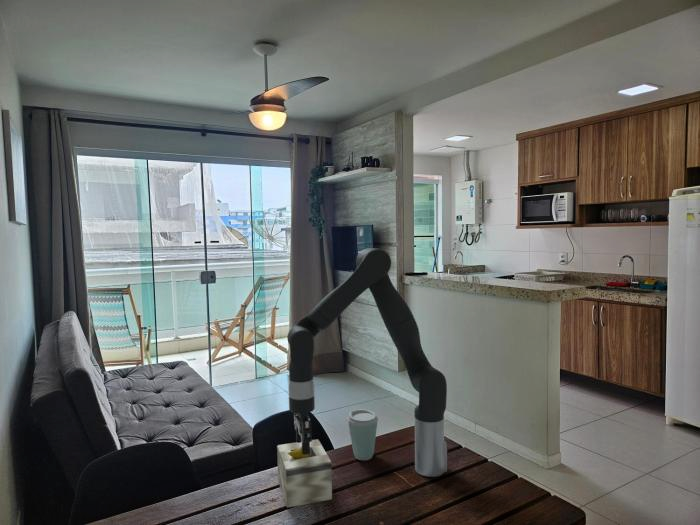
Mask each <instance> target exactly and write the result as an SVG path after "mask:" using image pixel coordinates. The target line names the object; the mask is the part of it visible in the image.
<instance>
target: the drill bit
mask: <svg viewBox="0 0 700 525" xmlns="http://www.w3.org/2000/svg"><path fill="white" fill-rule="evenodd" d="M313 452H314V451H311V448H310V453H309V454H306V455H303V454H302V447H301V448H300V449H297V450H294V451H292V452H289V453H287V454H289V455H290V456H292V457H293V458H294V459H302V458H308V457H313V456H312V454H313Z"/></svg>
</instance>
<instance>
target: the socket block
mask: <svg viewBox="0 0 700 525" xmlns="http://www.w3.org/2000/svg"><path fill="white" fill-rule="evenodd" d="M301 447H302V442H301V443H297V441H296V442H290V443H284V444H278V445H277V446H276V450H277V453H276V454H277V480H278V484H279V487H280V490H281V494H282V497H283V500H284V503H285V505H286V506H285V507H286V508H292V507H298V506H302V505H303V506H304V505H309V504H314V503H320V502H324V501H330V500H332V499H333V483H332V482H333V481H332V469H333V464H332V460H331V458H330V457H329V455H328V454H327V452H326V451H325V449H324V447H323V445H322V443H321V441H320V440H319V439H312V442H310V448H311V451H314V452H313V454H312V456H313V457H308V458H302V459H294V458H293V457H292V456H290V455H289V454H287V453H289V452H292V451H294V450H297V449H300V448H301Z"/></svg>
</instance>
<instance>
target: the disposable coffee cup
mask: <svg viewBox="0 0 700 525" xmlns="http://www.w3.org/2000/svg"><path fill="white" fill-rule="evenodd" d="M346 421H347V423H348V424H347V426H348V431H349V435H350V436H349V437H350V440H351V442H350V443H351V445H352V446H351V447H352V451H353V456H354V458H355V459H357V460H359V461H369V460H371V459H373V456H374V455H375V454H374V453H375V445H376V436H377V429H378V428H377V427H378V421H379V418H378V416H377V414H376V413H375V412H373V411H371V410H369V409H364V408H356V409H352V410H351V411H349V413H348V414H347V418H346Z"/></svg>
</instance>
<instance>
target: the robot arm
mask: <svg viewBox="0 0 700 525" xmlns="http://www.w3.org/2000/svg"><path fill="white" fill-rule="evenodd" d="M355 264H356V265H355V266H356V269H355V270H354V271H353V272H352V273H351V275H349V277H348V278H347V279H346V280H344V282H342V283H341V284H340V285H338V286H337V287H336V288H334V289H333V290H331V291H330V292H329V293H328V294H326V296H324V297H323V298H322V299H321V300H320V301H319V302H318V303H317V304H316V305H315V306H314V307H313V308H312V310H310V312H309V313H308V314H306V315H305V316H303V317H302V318H301V319H300V320H299V321H298V322H296V323H295V324H294V325H293V326H292V327H291V328H290V330H288V333H287V337H286V339H287V342H288V345H289V352H290V362H289V364H288V374H289V376H288V378H289V380H288V408H289V412H291V413H293V426H294V430H295V432H296V433H295V437H296V438H295V440H296V442H297V443H301V442H302V454H303V455H306V454H309V453H310V442H312V440H313V435H312V433H313V432H312V420H311V416H309V413H312V412H313V411H314V410H315V407H316V406H315V402H316V400H315V383H314V365H313V362H314V352H315V350H314V349H315V339H314V338H315V337H316V336H317V335H318V334H319V333H320V332H321V331H324V330H326V329H328V328H329V327H330V326H332V324H333V323H334V322H335V321H336V320H337V319H338V318H339V316H340V315H341V314H342V313H343V312H344V311H345V310H347V308H349V306H350V305H351V304H352V303H353V302H354V301H355V300H356V299H358V297H359V296H361V295H362V294H363V293H365V291H367V290H368V289H369V291H370V293H371V294H372V295H371V296H372V298H373V299H374V302H375V305H376V306H377V310H378V312H379V314H380V317H381V319H382V322H383V324H384V325H385V328H386V330H387V332H388V335H389V336H390V338H391V340H392V343H393V344H394V346H395V347H396V350H397V352H398V353H399V355H400V357H401V359H402V361H403V364H404V365H405V368H406V372H407V375H408V378H409V381H410V383H411V385H412V388H414V390H415V391H417V393H418V405H416V406H415V407H414V470H415V472H416V473H417V474H419V475H421V476H422V477H423V476H424V477H435V478H436V477H440V476H442V475H443V474H444V473H447V472H448V465H447V463H448V455H447V454H448V450H447V449H448V446H447V441H446V440H445V412H446V409H447V391H448V389H447V388H448V385H447V379H446V376H445V375H444V373H443V372H441V371H440V370H438V369H436V368H435V367H433V366H432V364H431V363H430V361H429V360H428V357H427V356H426V354H425V352H424V349H423V347H422V343H421V335H420V330H419V326H418V324H417V321H416V319H415V316H414V314H413V313H412V310H411V309H410V306H409V305H408V304H407V303H406V301H405V299H404V298H403V297H402V296H401V294H400V293H399V291H398V290H397V289H396V287H395V286H394V284H393V282H392V281H391V278H390V275H389V272H390V270H391V266H392V259H391V257H390V255H389V253H388V252H387V251H386V250H384V249H381V248H377V247H368V248H366V247H365V248H364V249H362V250H361V251H360V252H359V253H358V254H357V256H356V260H355ZM306 435H307V437H306Z"/></svg>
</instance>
